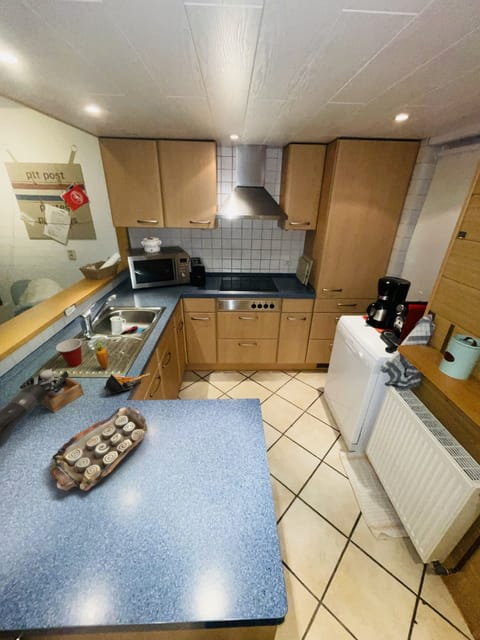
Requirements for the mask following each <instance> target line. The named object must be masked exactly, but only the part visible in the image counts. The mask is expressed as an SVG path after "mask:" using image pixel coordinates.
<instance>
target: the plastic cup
mask: <svg viewBox="0 0 480 640" xmlns="http://www.w3.org/2000/svg"><path fill="white" fill-rule="evenodd" d="M82 343H83V342H82V340H81V339H79V338H69V339H67V340H63V341H61V342H60V343H58V344H57V345H56V346H55V349H56V351H57V352H58V353H60V355H61V357H63V360H64V361H65V363H66V364H67V365H68V368H76V367H79V366H81V365H82V363H83V357H82Z"/></svg>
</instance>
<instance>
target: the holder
mask: <svg viewBox="0 0 480 640" xmlns="http://www.w3.org/2000/svg"><path fill="white" fill-rule="evenodd" d="M66 381H67V384H66V385H65V386H64V387H63V389H64V392H63V393H62V394H60V395H58V396H56V397H55V398H53V399H50V398H49V397H48V396H47V395H46V397H45V399H44V400H43V401H42V402H41V403H40V404H41V405H43V406H44V407H45V408H47V409H48V410H50V411H52V412H53V413H56V412H57V411H59V410H60V409H62V408H64V407H66V406H68V405H69V404H70V403H72V402H74V401H76V400H77V399H78V398H80V397H82V396H84V395H85V393H84V390H83V387H82V384H81V383H79V381H76V380H74V379H72V378H70V377H69V376H68V377H67V378H66ZM57 382H59V380H58V381H57Z"/></svg>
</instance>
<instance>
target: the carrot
mask: <svg viewBox="0 0 480 640" xmlns="http://www.w3.org/2000/svg"><path fill="white" fill-rule="evenodd" d="M93 349H97V350H95V356H96V360H97V362H98V364H99V366H100V367H101V368H102V369H103V370H107V368H108V365H109V356H108V352H107V351H108V350H107V349H106V348H103V343H101V342H99V341H97V346H93Z"/></svg>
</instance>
